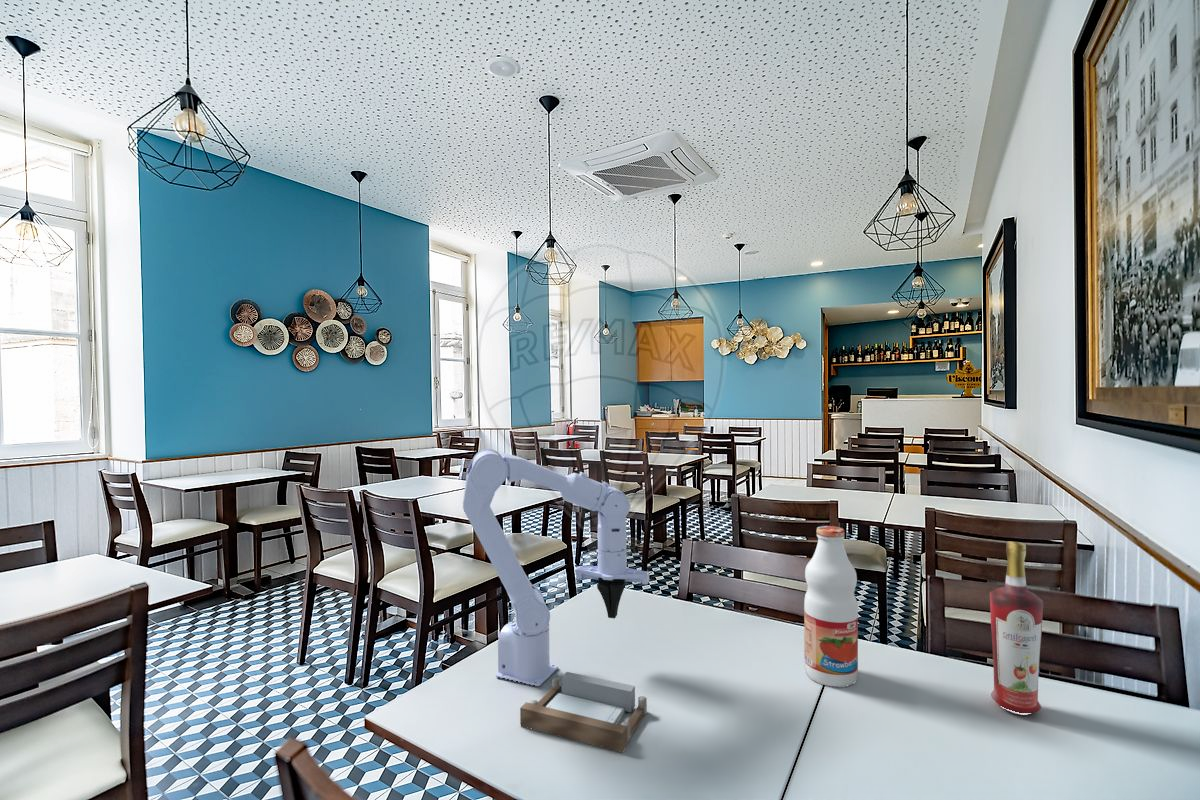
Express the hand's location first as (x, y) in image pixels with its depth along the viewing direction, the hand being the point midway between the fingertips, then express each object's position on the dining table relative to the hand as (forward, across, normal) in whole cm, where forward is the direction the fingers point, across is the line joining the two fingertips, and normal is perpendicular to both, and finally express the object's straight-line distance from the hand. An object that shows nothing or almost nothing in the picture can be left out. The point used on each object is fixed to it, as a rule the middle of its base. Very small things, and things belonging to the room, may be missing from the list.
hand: (612, 616), depth 114 cm
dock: (+9, 0, -19) cm, 21 cm away
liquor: (+10, +70, +2) cm, 70 cm away
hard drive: (+10, 0, -20) cm, 22 cm away
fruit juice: (+10, +41, +6) cm, 43 cm away
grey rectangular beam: (+9, +1, -15) cm, 17 cm away
